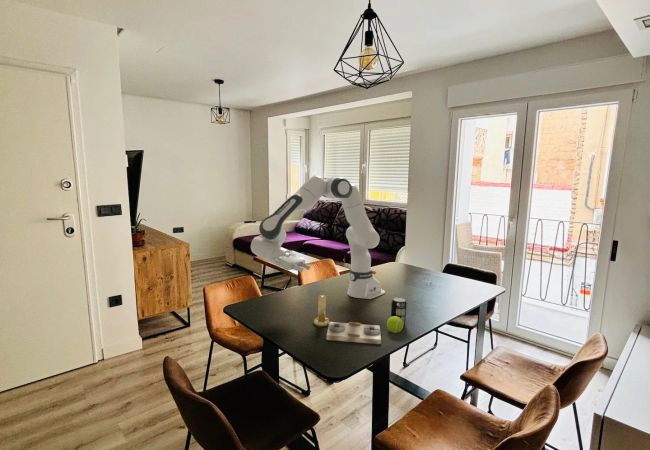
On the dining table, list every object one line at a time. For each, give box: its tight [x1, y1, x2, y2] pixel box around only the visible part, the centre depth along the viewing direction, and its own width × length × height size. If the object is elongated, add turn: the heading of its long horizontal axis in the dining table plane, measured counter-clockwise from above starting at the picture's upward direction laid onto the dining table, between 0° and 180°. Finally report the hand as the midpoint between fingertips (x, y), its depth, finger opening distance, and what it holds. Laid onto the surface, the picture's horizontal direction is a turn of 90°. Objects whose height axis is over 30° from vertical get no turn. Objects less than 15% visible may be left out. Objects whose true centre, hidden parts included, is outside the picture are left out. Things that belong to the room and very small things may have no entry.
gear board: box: [326, 321, 382, 345], centre depth 145 cm, size 22×13×4 cm, turn 83°
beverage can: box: [390, 296, 407, 327], centre depth 156 cm, size 7×7×12 cm
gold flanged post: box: [313, 294, 330, 328], centre depth 154 cm, size 7×7×13 cm
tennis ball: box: [386, 316, 404, 334], centre depth 148 cm, size 7×7×7 cm
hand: (306, 269), depth 158 cm, fingers open, 8 cm apart
